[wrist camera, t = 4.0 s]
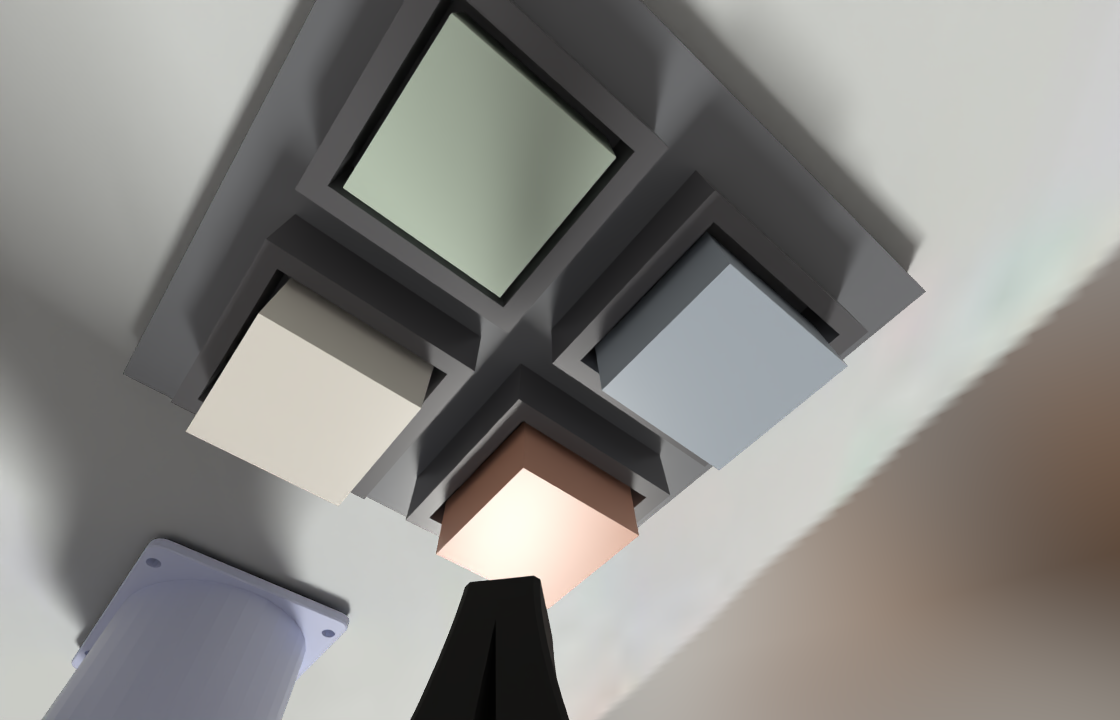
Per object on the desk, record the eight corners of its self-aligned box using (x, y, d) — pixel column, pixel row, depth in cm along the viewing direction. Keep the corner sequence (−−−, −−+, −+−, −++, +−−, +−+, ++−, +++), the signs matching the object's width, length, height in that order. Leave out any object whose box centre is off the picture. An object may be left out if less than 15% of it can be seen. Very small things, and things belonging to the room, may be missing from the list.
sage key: (504, 264, 15) (499, 297, 13) (367, 164, 14) (342, 187, 12) (606, 138, 14) (616, 157, 12) (464, 11, 12) (451, 12, 11)
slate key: (700, 422, 17) (719, 470, 15) (595, 347, 15) (601, 390, 14) (813, 325, 15) (847, 365, 13) (706, 231, 14) (730, 263, 12)
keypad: (557, 571, 23) (559, 636, 21) (143, 355, 18) (80, 411, 15) (906, 276, 17) (966, 321, 15) (436, -200, 11) (408, -254, 9)
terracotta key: (547, 555, 19) (548, 609, 18) (445, 501, 18) (436, 553, 16) (629, 484, 18) (639, 535, 16) (525, 419, 16) (523, 467, 15)
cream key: (358, 455, 17) (338, 506, 15) (224, 384, 16) (185, 431, 14) (434, 363, 15) (421, 408, 14) (292, 275, 14) (258, 313, 12)
